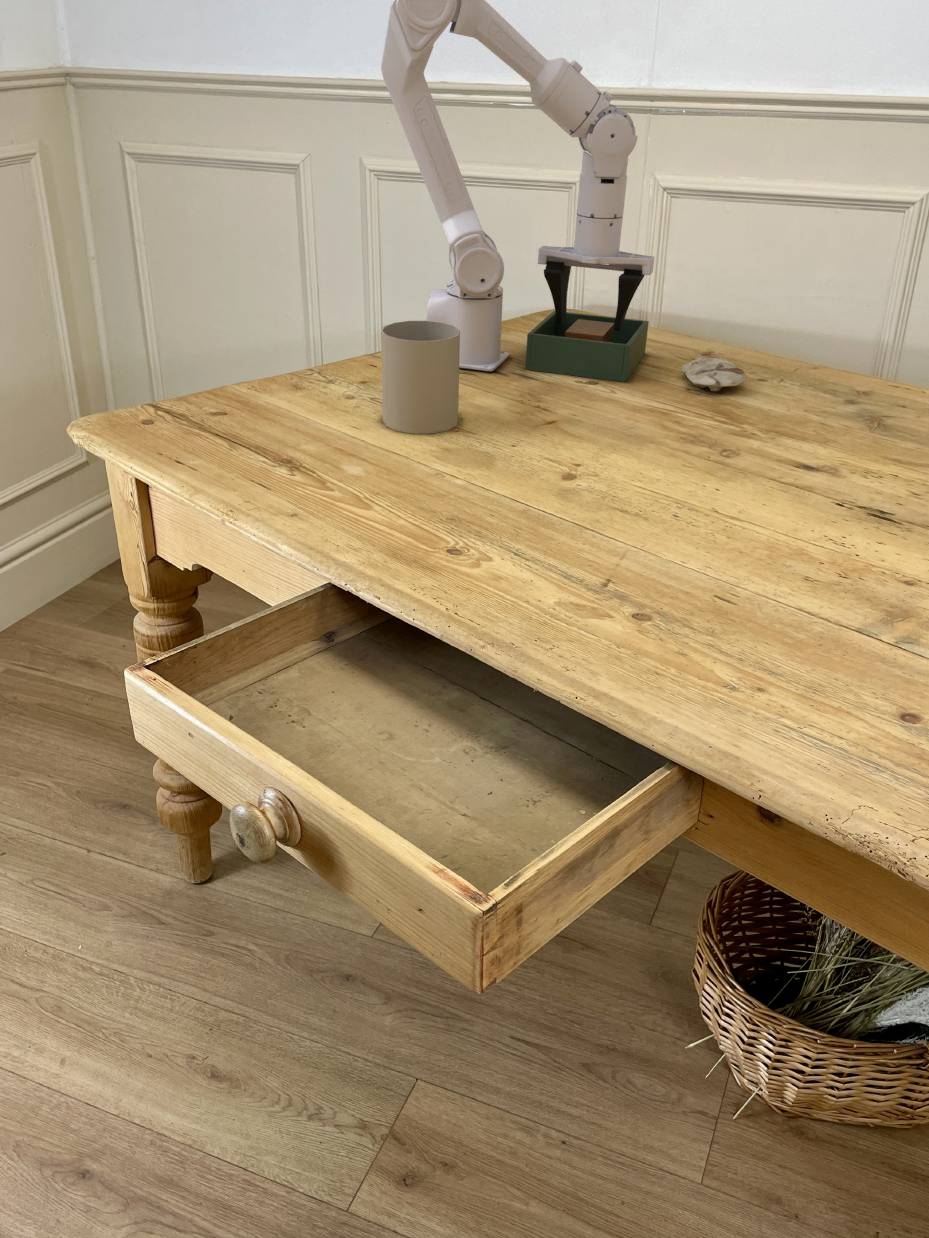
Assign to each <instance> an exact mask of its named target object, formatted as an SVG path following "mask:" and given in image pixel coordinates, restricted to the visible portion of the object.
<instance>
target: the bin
mask: <svg viewBox="0 0 929 1238" xmlns="http://www.w3.org/2000/svg"><path fill="white" fill-rule="evenodd" d="M615 318H616V316H607V315H606V316H605V315H599V314H588V313H579V312H570V311H569V312H568V311H566V319H565V322H564V323H563V324H562V325H560V324H557V323H556V312H555V310H553V311H552V312H551V313H550V314H548V315H547V316H546V317H545V318H544V319H543V320H541V321H540V322H539V323H537V325H536V326H535V327H534V328H532V329H531V330H530V331H529V332H528V333H527V335H526V352H525V368H524V369H525V370H526V371H527V370H528V371H534V372H543V373H550V374H558V375H567V376H575V377H581V378H589V379H590V378H591V379H598V380H606V381H614V382H623V383H626V382H628V379H629V378H630V377H631V375H632V374H633V373H634V371H635V369H636V368H637V367H638V365H639V364H640V363H641V361H642V360H643V358H644V356H646V347H647V341H648V340H647V339H648V332H649V331H648V330H649V320H643V319H642V320H641V319H633V318H625V319H624V323H623V327H622V329H621V330H620V331H614V333H613V342H603V341H594V340H586V339H577V338H569V337H565V332H566V331H567V330H568V329H569V328H570V327H571V326H572V325H573V324H574V323H575V322H576V321H577V320H578V319H581V320H590V321H599V322H608V323H614V324H615Z"/></svg>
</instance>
